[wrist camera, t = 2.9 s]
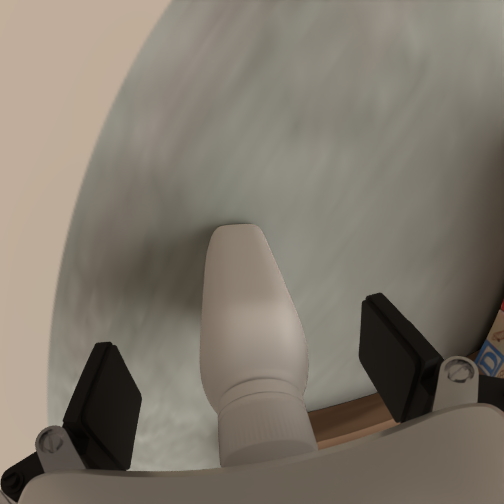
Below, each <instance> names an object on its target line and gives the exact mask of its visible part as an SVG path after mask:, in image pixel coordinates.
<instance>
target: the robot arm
mask: <svg viewBox="0 0 504 504" xmlns="http://www.w3.org/2000/svg"><path fill="white" fill-rule="evenodd" d="M359 359H360V362H361V364H362V366H363V367H364V369H365V371H366V372H367V374H368V376H369V377H370V379H371V381H372V383H373V384H374V386H375V388H376V389H377V391H378V393H379V395H380V396H381V398H382V400H383V401H384V403H385V405H386V407H387V408H388V410H389V412H390V414H391V415H392V417H393V419H394V421H395V422H396V423H399V422H400V423H401V424H399V425H396V426H394V427H391V428H388V429H386V430H383V431H380V432H377V433H374V434H371V435H368V436H365V437H362V438H359V439H356V440H353V441H350V442H346V443H343V444H340V445H336V446H333V447H329V448H325V449H322V450H318V451H314V452H310V453H305V454H301V455H297V456H292V457H287V458H282V459H277V460H272V461H266V462H261V463H254V464H248V465H240V466H233V467H224V468H214V469H202V470H187V471H126V470H128V469H129V468H130V465H131V459H132V452H133V446H134V440H135V434H136V429H137V423H138V418H139V412H140V407H141V402H142V397H141V393H140V391H139V389H138V388H137V386H136V384H135V382H134V380H133V378H132V376H131V374H130V372H129V370H128V368H127V366H126V364H125V362H124V360H123V358H122V356H121V354H120V352H119V350H118V348H117V346H116V345H113V344H112V343H111V342H101V343H96V344H95V346H94V348H93V350H92V352H91V354H90V357H89V359H88V361H87V363H86V365H85V368H84V370H83V372H82V374H81V377H80V379H79V381H78V384H77V386H76V388H75V391H74V393H73V396H72V398H71V401H70V403H69V406H68V408H67V411H66V413H65V416H64V418H63V422H64V423H63V426H62V427H60V426H56V425H55V426H49V427H47V428H45V429H44V430H42V431H41V432H40V433H39V435H38V436H37V438H36V442H35V447H36V452H34V453H33V454H31V455H30V456H28V457H26V458H25V459H23V460H22V461H20V462H18V463H17V464H15V465H14V466H12V467H10V468H9V469H7V470H6V471H5V472H4V474H3V475H2V478H1V490H0V504H504V378H498V377H492V376H486V375H481V374H479V372H478V367H477V366H476V364H475V363H474V362H473V361H472V360H470V359H468V358H466V357H462V356H453V357H449V358H447V359H446V360H444V359H443V358H442V357H441V355H440V354H439V353H438V352H437V351H436V350H435V349H434V347H433V346H432V345H431V344H430V343H429V342H428V341H427V340H426V339H425V337H424V336H423V335H422V334H421V333H420V332H419V331H418V330H417V329H416V328H415V326H414V325H413V324H412V323H411V322H410V321H408V320H407V319H406V318H405V317H404V316H403V315H402V314H401V312H400V311H399V310H398V309H397V308H396V307H395V306H394V305H393V304H392V303H391V302H390V301H389V300H388V299H387V298H386V297H385V296H384V295H383V294H382V293H376V294H372V295H369V296H367V297H366V300H364V301H363V302H362V312H361V330H360V344H359Z"/></svg>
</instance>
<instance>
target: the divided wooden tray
mask: <svg viewBox="0 0 504 504" xmlns="http://www.w3.org/2000/svg"><path fill="white" fill-rule="evenodd" d="M479 352H480V350H479V351H477V352H475V353H473V354H471V355H469V356H467V357H466V358H468V359H470V360H472V361H473V362H474V361H475V359H476V358H477V356H478V354H479ZM476 366H477V365H476ZM477 367H478V366H477ZM478 372H479V374H481V375H485V374H484V373H483V372H482V371H481V369H480V368H479V367H478ZM308 417H309V420H310V423H311V426H312V430H313V433H314V436H315V439H316V442H317V446H318V450H322V449H325V448H329V447H333V446H336V445H340V444H343V443H346V442H350V441H353V440H356V439H359V438H362V437H365V436H368V435H371V434H374V433H377V432H380V431H383V430H386V429H388V428H391V427H394V426H396V425H399V424H401V423H400V422H399V423H396V422H395V421H394V419H393V417H392V415H391V414H390V412H389V410H388V408H387V407H386V405H385V403H384V401H383V400H382V398H381V396H380V395H379V393H376V394H373V395H370V396H367V397H363V398H360V399H357V400H353V401H350V402H347V403H343V404H340V405H336V406H332V407H328V408H325V409H321V410H317V411H312V412H308Z"/></svg>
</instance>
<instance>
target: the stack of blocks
mask: <svg viewBox="0 0 504 504" xmlns="http://www.w3.org/2000/svg"><path fill="white" fill-rule="evenodd" d="M474 363H475V364H476V365H477V366H478V367H479V368H480V369H481V371H482V372H483V373H484V374H485V375H486V376H492V377H498V378H504V300H503V303H502V305H501V309H500V310H499V312H498V314H497V317H496V319H495V321H494V323H493V326H492V328H491V330H490V332H489V334H488V336H487V339H486V340H485V342H484V344H483V346H482V348H481V350H480V352H479V354H478V356H477V358H476V359H475V361H474Z"/></svg>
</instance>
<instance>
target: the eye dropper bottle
mask: <svg viewBox="0 0 504 504" xmlns="http://www.w3.org/2000/svg"><path fill="white" fill-rule="evenodd" d="M308 368H309V363H308V350H307V344H306V339H305V335H304V332H303V329H302V325H301V322H300V320H299V317H298V314H297V312H296V309H295V307H294V304H293V302H292V299H291V297H290V294H289V292H288V289H287V287H286V285H285V282H284V280H283V278H282V275H281V273H280V270H279V268H278V266H277V263H276V261H275V259H274V256H273V254H272V252H271V250H270V247H269V245H268V243H267V240H266V238H265V236H264V234H263V232H262V231H261V229H260V228H259V227H258V226H257V225H253V224H235V225H223V226H220V227H218V228H217V229H216V230H215V231H214V232H213V234H212V237H211V239H210V242H209V246H208V250H207V254H206V261H205V273H204V286H203V300H202V316H201V335H200V373H201V380H202V384H203V388H204V391H205V394H206V396H207V399H208V400H209V402H210V404H211V406H212V407H213V409H214V410H215V412H216V413H217V414H218V432H219V452H220V465H221V467H222V468H224V467H233V466H240V465H248V464H254V463H261V462H266V461H272V460H277V459H282V458H287V457H292V456H297V455H301V454H305V453H310V452H314V451H318V446H317V442H316V439H315V436H314V433H313V430H312V426H311V423H310V420H309V417H308V413H307V410H306V407H305V404H304V401H303V397H302V396H303V394H304V391H305V388H306V384H307V378H308Z"/></svg>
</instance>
